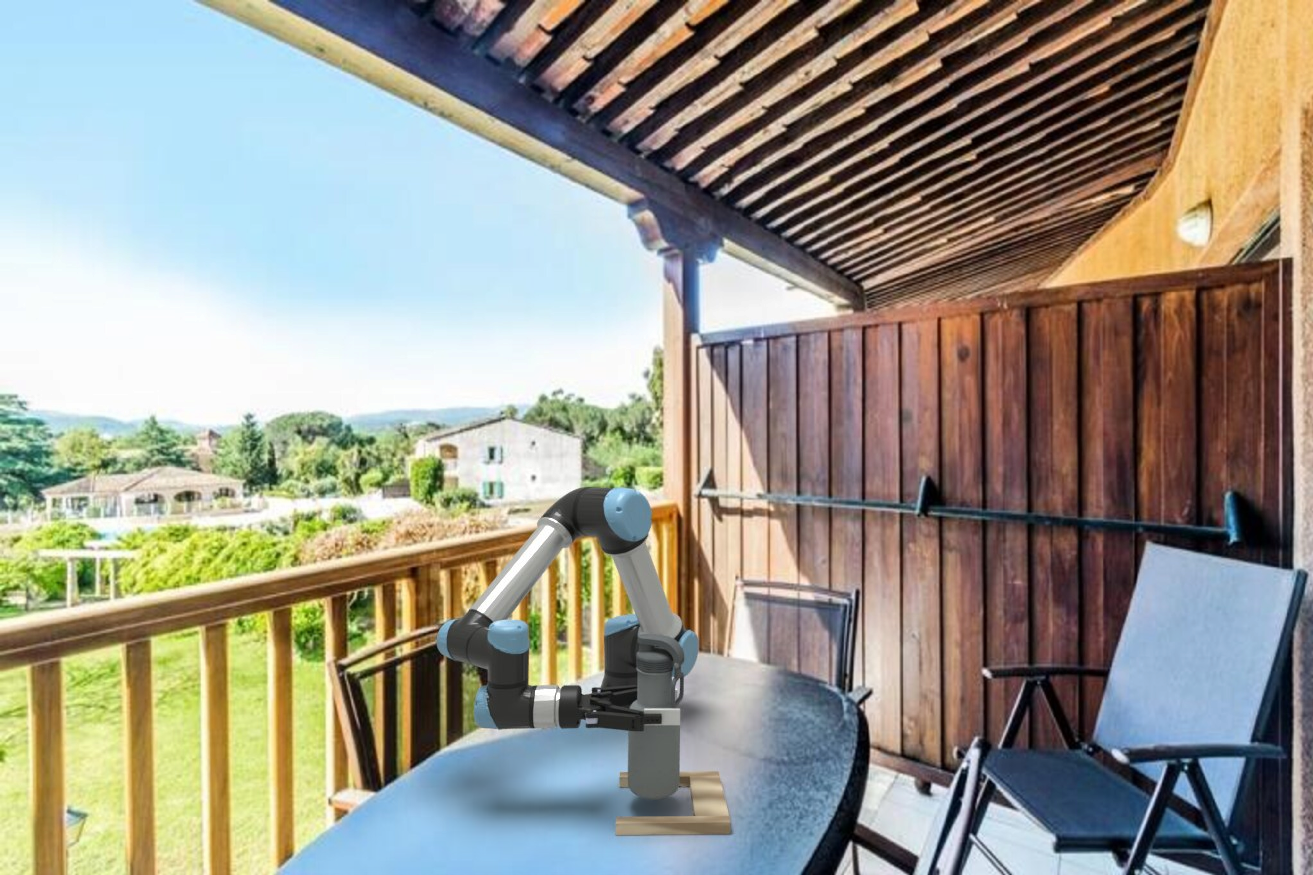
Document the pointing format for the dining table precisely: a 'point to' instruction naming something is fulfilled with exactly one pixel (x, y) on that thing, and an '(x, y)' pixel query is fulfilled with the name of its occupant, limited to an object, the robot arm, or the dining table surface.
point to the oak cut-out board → (706, 817)
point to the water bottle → (657, 744)
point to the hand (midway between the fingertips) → (678, 706)
